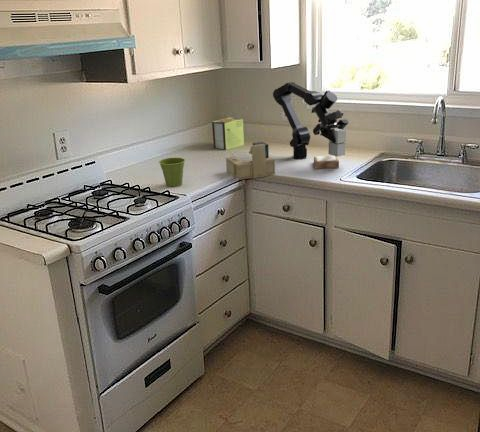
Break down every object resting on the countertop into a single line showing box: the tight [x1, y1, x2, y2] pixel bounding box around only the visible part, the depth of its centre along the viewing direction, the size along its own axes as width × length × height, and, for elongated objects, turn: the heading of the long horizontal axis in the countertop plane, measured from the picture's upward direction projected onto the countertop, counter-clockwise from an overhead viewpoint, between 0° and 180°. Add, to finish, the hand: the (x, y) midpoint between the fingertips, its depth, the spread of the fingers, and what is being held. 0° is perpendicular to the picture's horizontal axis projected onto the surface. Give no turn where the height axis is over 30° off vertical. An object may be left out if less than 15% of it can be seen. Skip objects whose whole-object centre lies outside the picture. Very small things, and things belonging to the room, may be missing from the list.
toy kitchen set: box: [225, 144, 276, 181], centre depth 254 cm, size 18×17×15 cm
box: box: [252, 141, 270, 158], centre depth 270 cm, size 8×6×11 cm
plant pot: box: [158, 157, 186, 188], centre depth 242 cm, size 12×12×11 cm
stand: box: [313, 155, 340, 169], centre depth 264 cm, size 11×11×3 cm
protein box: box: [211, 117, 245, 151], centre depth 310 cm, size 10×15×16 cm
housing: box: [328, 128, 347, 158], centre depth 256 cm, size 6×5×12 cm
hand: (339, 141), depth 254 cm, fingers closed on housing, 5 cm apart
